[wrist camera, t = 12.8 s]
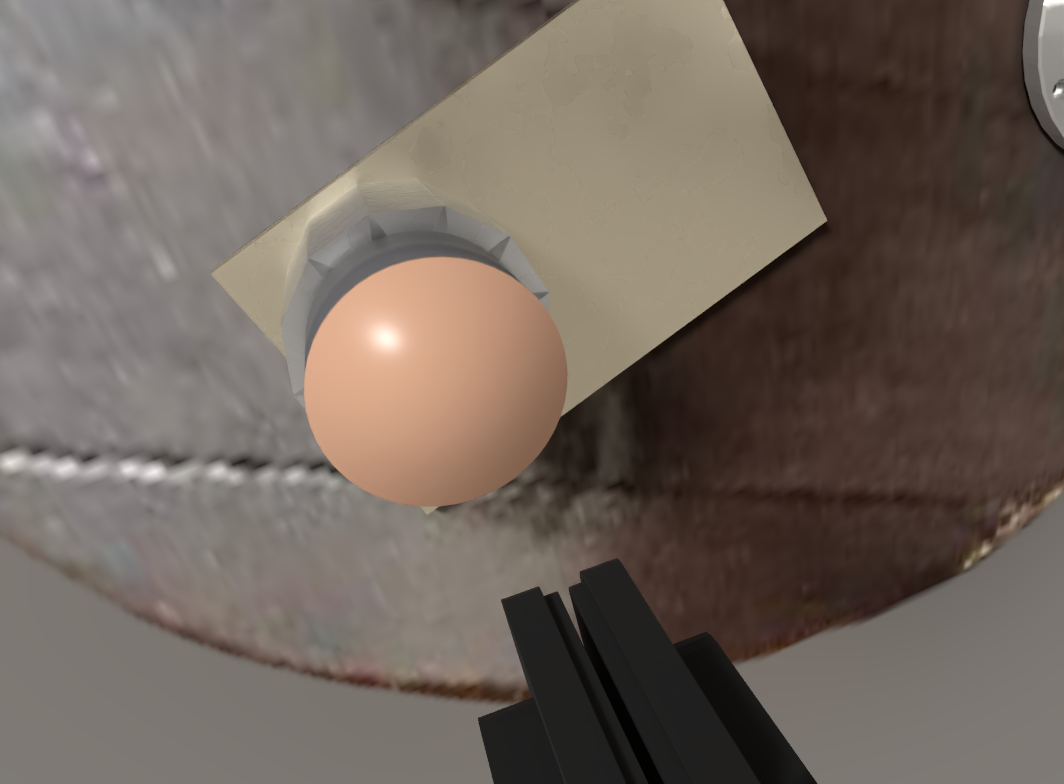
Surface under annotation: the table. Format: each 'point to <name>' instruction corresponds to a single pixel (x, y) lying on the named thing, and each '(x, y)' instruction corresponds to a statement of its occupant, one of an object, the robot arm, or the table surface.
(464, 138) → the cylinder on base plate
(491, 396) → the peach ball on collar
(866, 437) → the table surface
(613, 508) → the table surface
